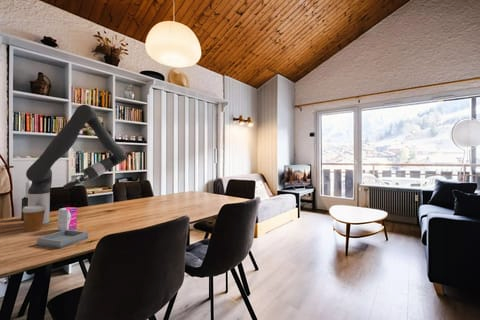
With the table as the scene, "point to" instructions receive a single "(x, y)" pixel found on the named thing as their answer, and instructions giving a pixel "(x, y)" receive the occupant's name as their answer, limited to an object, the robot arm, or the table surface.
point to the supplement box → (67, 219)
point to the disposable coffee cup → (33, 217)
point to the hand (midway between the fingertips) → (65, 187)
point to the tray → (62, 238)
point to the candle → (25, 198)
